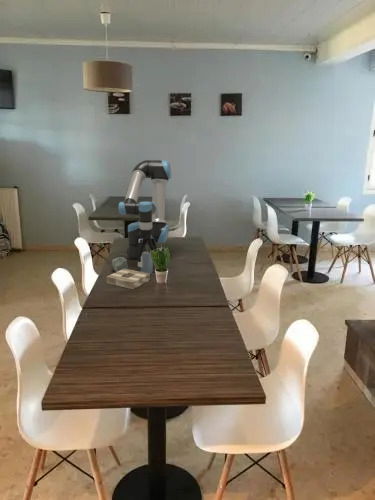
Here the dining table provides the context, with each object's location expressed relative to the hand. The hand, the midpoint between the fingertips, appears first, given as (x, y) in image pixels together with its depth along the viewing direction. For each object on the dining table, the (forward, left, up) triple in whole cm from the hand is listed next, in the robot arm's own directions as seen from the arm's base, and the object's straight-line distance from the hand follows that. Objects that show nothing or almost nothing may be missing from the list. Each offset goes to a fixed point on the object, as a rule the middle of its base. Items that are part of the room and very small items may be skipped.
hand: (146, 263), depth 248 cm
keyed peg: (0, 0, -6) cm, 6 cm away
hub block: (+18, 0, -6) cm, 19 cm away
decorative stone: (+5, -16, -6) cm, 18 cm away
